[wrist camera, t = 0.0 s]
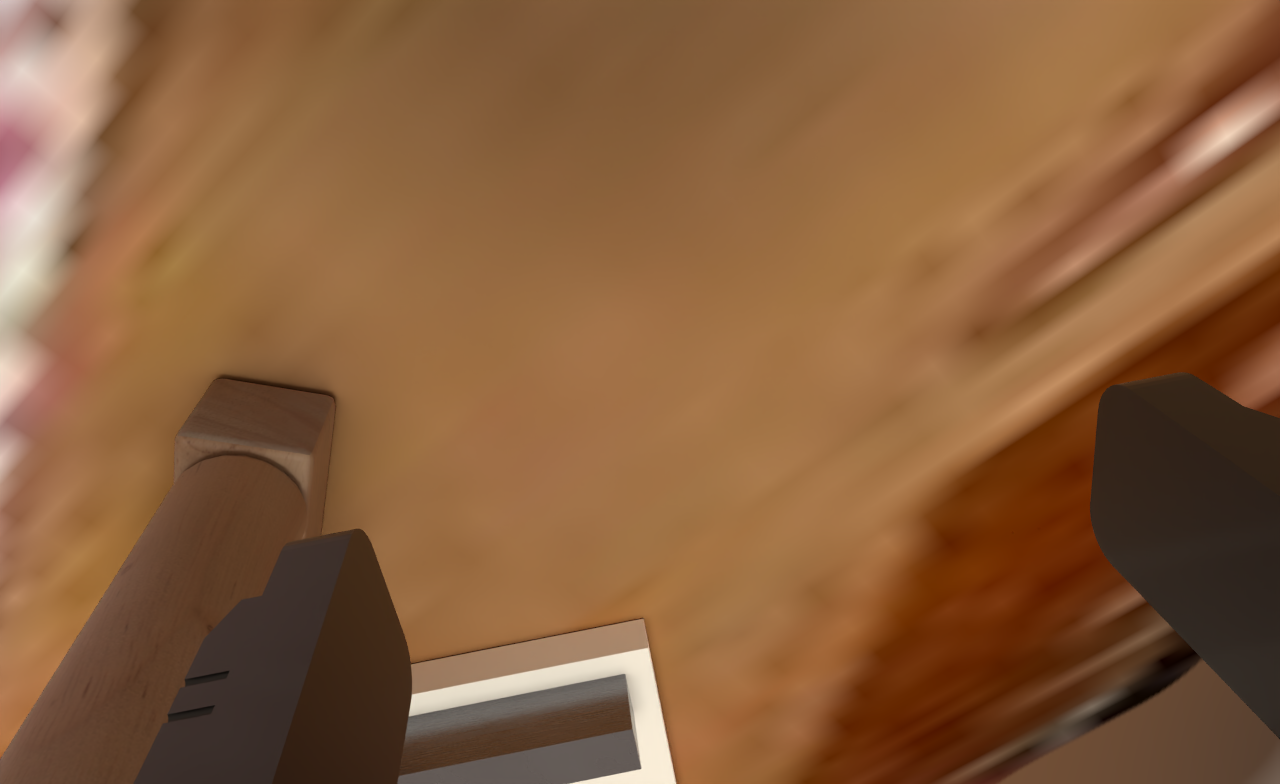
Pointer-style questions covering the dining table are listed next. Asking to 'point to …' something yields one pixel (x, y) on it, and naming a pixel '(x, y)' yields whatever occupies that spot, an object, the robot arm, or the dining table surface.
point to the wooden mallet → (181, 581)
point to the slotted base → (558, 671)
